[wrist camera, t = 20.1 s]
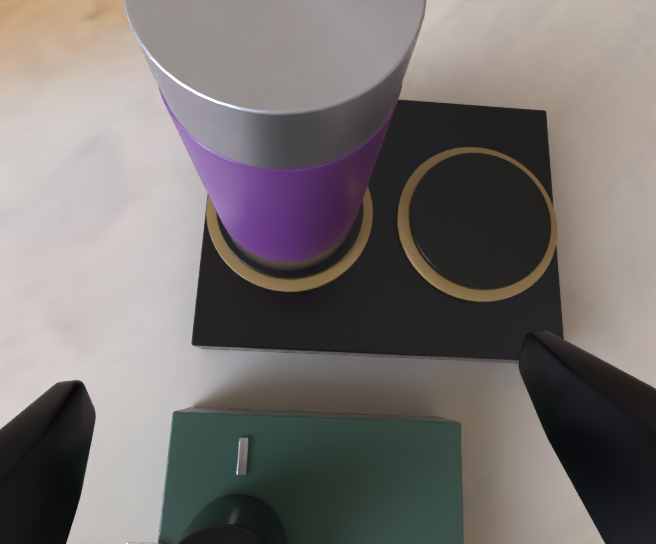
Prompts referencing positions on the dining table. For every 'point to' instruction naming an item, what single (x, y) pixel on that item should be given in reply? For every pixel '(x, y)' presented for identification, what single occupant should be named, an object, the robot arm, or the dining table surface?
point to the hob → (411, 252)
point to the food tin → (281, 109)
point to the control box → (320, 473)
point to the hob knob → (235, 523)
